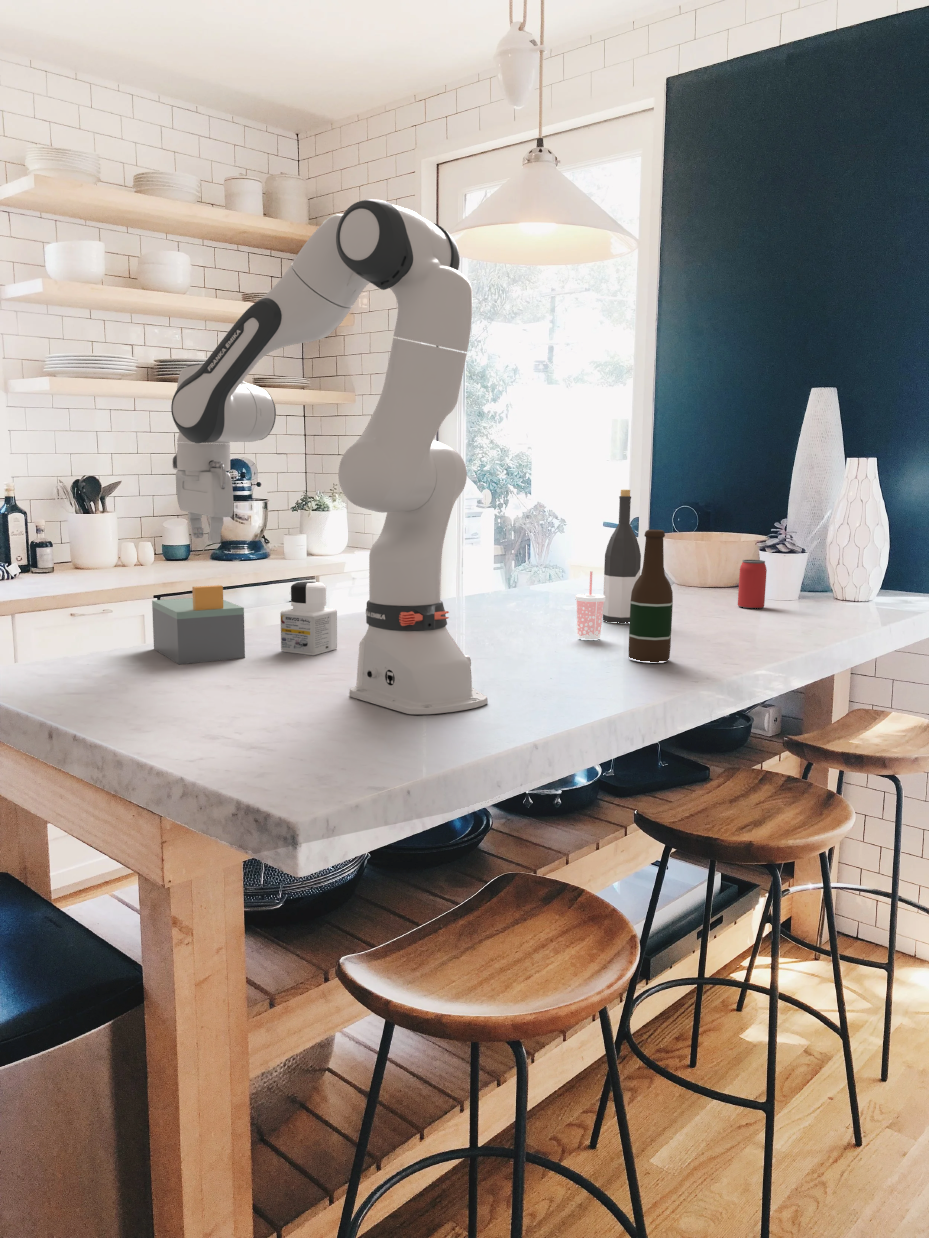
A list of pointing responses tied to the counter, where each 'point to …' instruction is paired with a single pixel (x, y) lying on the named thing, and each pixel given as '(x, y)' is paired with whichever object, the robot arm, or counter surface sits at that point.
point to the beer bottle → (651, 605)
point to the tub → (199, 637)
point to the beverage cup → (589, 614)
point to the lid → (199, 604)
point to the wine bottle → (621, 566)
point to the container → (308, 621)
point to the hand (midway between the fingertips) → (205, 540)
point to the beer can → (752, 584)
